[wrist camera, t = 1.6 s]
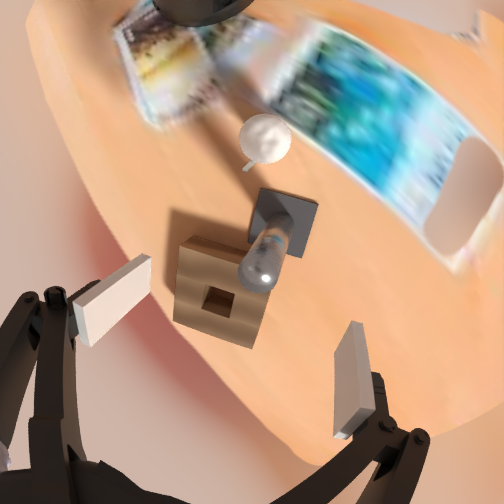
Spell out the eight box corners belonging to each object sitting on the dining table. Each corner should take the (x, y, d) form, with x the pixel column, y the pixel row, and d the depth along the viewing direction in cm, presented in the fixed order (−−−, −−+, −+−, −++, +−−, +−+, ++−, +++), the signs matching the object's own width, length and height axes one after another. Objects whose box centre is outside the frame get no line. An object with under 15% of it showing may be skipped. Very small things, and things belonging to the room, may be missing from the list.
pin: (272, 208, 32) (241, 250, 19) (297, 215, 32) (282, 263, 19) (266, 232, 33) (233, 286, 21) (290, 239, 33) (271, 298, 20)
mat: (261, 187, 32) (260, 188, 32) (318, 204, 31) (318, 204, 31) (248, 241, 35) (247, 242, 34) (301, 257, 34) (301, 258, 33)
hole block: (193, 235, 36) (179, 245, 33) (279, 262, 35) (274, 275, 31) (184, 306, 41) (172, 320, 37) (258, 332, 40) (252, 349, 36)
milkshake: (248, 155, 31) (219, 159, 22) (268, 116, 29) (247, 102, 19) (282, 173, 31) (268, 183, 22) (304, 133, 28) (298, 125, 19)
